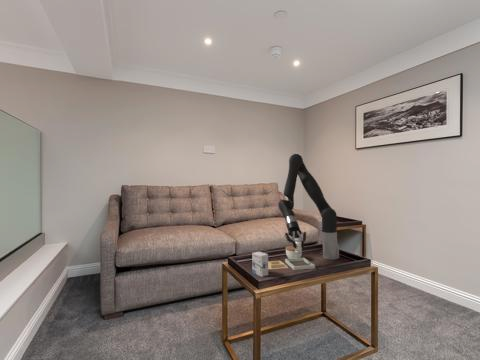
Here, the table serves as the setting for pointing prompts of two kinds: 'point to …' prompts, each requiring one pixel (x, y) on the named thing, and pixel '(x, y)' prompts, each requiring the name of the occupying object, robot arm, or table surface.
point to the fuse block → (276, 265)
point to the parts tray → (309, 266)
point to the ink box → (260, 263)
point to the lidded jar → (291, 252)
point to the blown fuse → (298, 246)
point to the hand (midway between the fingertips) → (299, 247)
